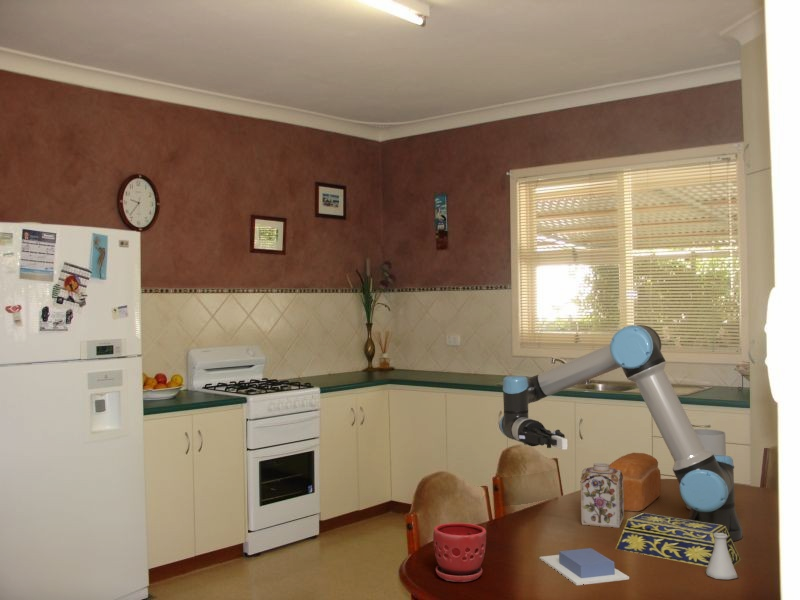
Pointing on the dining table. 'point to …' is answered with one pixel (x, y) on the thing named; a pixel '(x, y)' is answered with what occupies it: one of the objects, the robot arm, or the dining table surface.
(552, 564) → the mat
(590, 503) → the decorative jar
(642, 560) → the dining table surface
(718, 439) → the cylinder vase
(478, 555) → the plant pot
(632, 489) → the bread
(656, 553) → the decorative box
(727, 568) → the flask
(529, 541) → the dining table surface
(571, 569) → the book
